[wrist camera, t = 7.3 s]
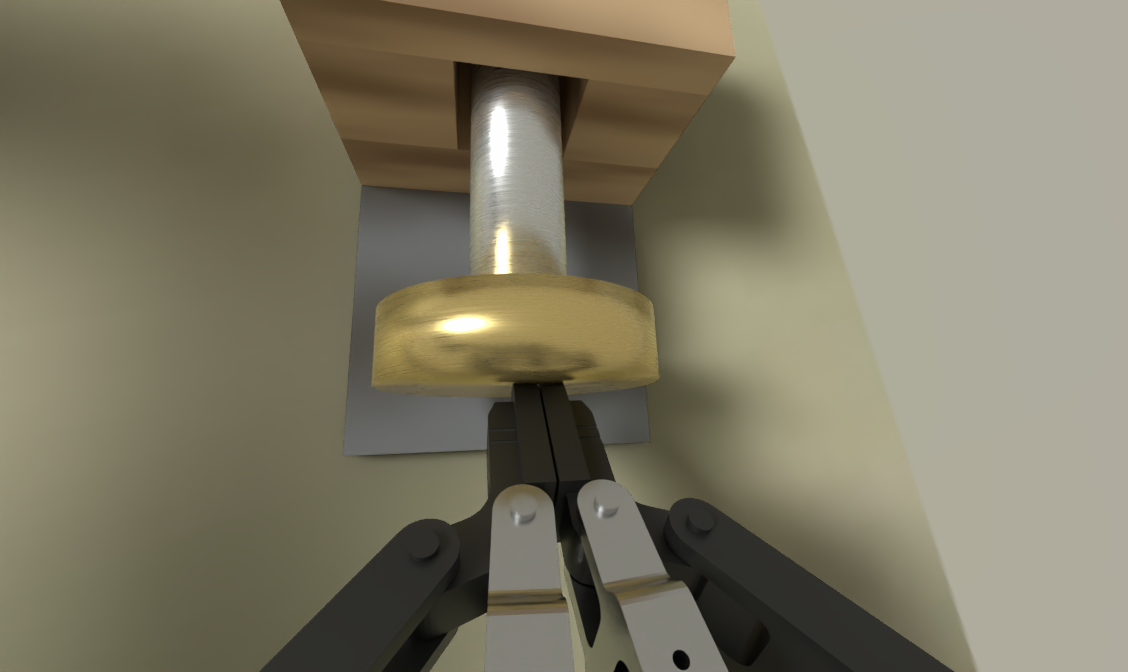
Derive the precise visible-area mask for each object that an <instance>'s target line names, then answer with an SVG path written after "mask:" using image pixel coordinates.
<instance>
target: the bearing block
mask: <svg viewBox="0 0 1128 672" xmlns="http://www.w3.org/2000/svg"><path fill="white" fill-rule="evenodd" d="M280 2H281V4H282V6H283V9H284V11H285V13H286V16H287V18H288V20H289V22H290V25H291V27H292V29H293V31H294V34H295V36H296V38H297V40H298V43H299V45H300V47H301V49H302V52H303V54H304V56H305V58H306V61H307V63H308V65H309V67H310V70H311V72H312V74H313V76H314V79H315V81H316V83H317V85H318V88H319V90H320V92H321V94H322V97H323V99H324V101H325V103H326V106H327V108H328V110H329V112H330V115H331V117H332V119H333V121H334V124H335V126H336V128H337V130H338V133H339V135H340V137H341V139H342V142H343V144H344V146H345V148H346V151H347V153H348V155H349V157H350V160H351V162H352V164H353V166H354V169H355V171H356V173H357V175H358V178H359V180H360V182H361V184H362V190H361V204H360V218H359V232H358V246H357V261H356V275H355V289H354V303H353V317H352V332H351V346H350V360H349V374H348V388H347V403H346V417H345V431H344V445H343V456H356V455H378V454H400V453H422V452H444V451H466V450H487V427H488V414H489V412H490V410H491V408H492V406H493V405H494V403H495V402H511V397H498V398H466V397H433V396H417V395H405V394H396V393H390V392H385V391H380V390H377V389H374V388H373V387H372V368H373V351H374V334H375V317H376V307H377V305H378V304H379V302H380V301H381V300H383V299H384V298H385V297H387V296H388V295H390V294H392V293H394V292H396V291H399V290H401V289H404V288H407V287H410V286H414V285H417V284H421V283H425V282H430V281H435V280H440V279H446V278H453V277H461V276H469V252H470V159H471V66H472V63H473V64H480V65H488V66H495V67H502V68H510V69H517V70H524V71H532V72H539V73H546V74H554V75H559V88H560V113H561V138H562V162H563V187H564V212H565V236H566V261H567V276H576V277H584V278H590V279H596V280H602V281H606V282H610V283H614V284H618V285H622V286H624V287H627V288H630V289H633V290H635V291H637V292H638V279H637V266H636V253H635V240H634V227H633V215H632V204H633V203H634V201H635V200H636V199H637V197H638V196H639V194H640V193H641V191H642V190H643V189H644V187H645V186H646V184H647V183H648V181H649V180H650V179H651V177H652V176H653V174H654V173H655V171H656V170H657V169H658V167H659V166H660V164H661V163H662V161H663V160H664V159H665V157H666V156H667V154H668V153H669V151H670V150H671V149H672V147H673V146H674V144H675V143H676V141H677V140H678V139H679V137H680V136H681V134H682V133H683V131H684V130H685V129H686V127H687V126H688V124H689V123H690V121H691V120H692V119H693V117H694V116H695V114H696V113H697V111H698V110H699V109H700V107H701V106H702V104H703V103H704V101H705V100H706V99H707V97H708V96H709V94H710V93H711V91H712V90H713V88H714V87H715V86H716V84H717V83H718V81H719V80H720V78H721V77H722V76H723V74H724V73H725V71H726V70H727V68H728V67H729V66H730V64H731V63H732V61H733V60H734V58H735V57H736V55H735V49H734V42H733V35H732V28H731V21H730V14H729V7H728V0H280ZM568 399H569V400H582V401H583V402H584V404H585V405H586V406H587V407H588V408H589V409H590V410H591V411H592V413H593V416H594V419H595V422H596V425H597V428H598V431H599V434H600V439H601V440H602V443H603V444H620V443H642V442H650V435H649V422H648V409H647V396H646V385H643V386H639V387H634V388H628V389H621V390H614V391H605V392H596V393H585V394H572V395H568Z"/></svg>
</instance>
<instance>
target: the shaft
mask: <svg viewBox="0 0 1128 672" xmlns="http://www.w3.org/2000/svg"><path fill="white" fill-rule="evenodd" d="M659 379H660V378H659V366H658V354H657V342H656V330H655V318H654V308H653V304H652V302H651V301H650V300H649V299H648V298H647V297H646V296H644V295H643V294H641V293H639V292H637V291H635V290H633V289H630V288H627V287H624V286H622V285H618V284H614V283H610V282H606V281H602V280H596V279H590V278H584V277H576V276H567V261H566V236H565V212H564V187H563V162H562V138H561V113H560V88H559V75H554V74H546V73H539V72H532V71H524V70H517V69H510V68H502V67H495V66H488V65H480V64H473V63H472V66H471V159H470V252H469V276H461V277H453V278H446V279H440V280H435V281H430V282H425V283H421V284H417V285H414V286H410V287H407V288H404V289H401V290H399V291H396V292H394V293H392V294H390V295H388V296H387V297H385V298H384V299H383V300H381V301H380V302H379V304H378V305H377V307H376V317H375V334H374V351H373V368H372V387H373V388H374V389H377V390H380V391H385V392H390V393H396V394H405V395H417V396H433V397H466V398H498V397H511V392H512V385H513V384H538V385H539V384H564V385H565V388H566V392H567V395H572V394H585V393H596V392H605V391H614V390H621V389H628V388H634V387H639V386H643V385H648V384H651V383H654V382H656V381H658V380H659Z"/></svg>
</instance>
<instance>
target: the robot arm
mask: <svg viewBox="0 0 1128 672" xmlns="http://www.w3.org/2000/svg"><path fill="white" fill-rule="evenodd" d="M487 480H488V500H487V502H486V503H485V505H484V506H483V507H482V508H481V510H480V511H478V512H477V513H476V514H474V515H473V516H471V517H469V518H467V519H465V520H463V521H460V522H457V523H455V524H452V525H449V524H448V523H446V522H444V521H442V520H438V519H423V520H419V521H416V522H414V523H411V524H409V525H408V526H406V527H405V528H403V529H402V530H401V531H400V532H399V533H398V534H397V535H396V536H395V537H394V538H393V539H392V540H391V541H390V542H389V543H388V544H387V545H386V546H385V547H384V548H383V549H382V550H381V551H380V552H379V553H378V554H377V555H376V556H375V557H374V558H373V559H372V560H371V561H370V562H369V563H368V564H367V565H366V566H365V567H364V568H363V569H362V570H361V571H360V572H359V573H358V574H357V575H356V576H355V577H354V578H353V579H352V580H351V581H350V582H349V583H348V584H347V585H346V586H345V587H344V588H343V589H342V590H341V591H340V592H339V593H338V594H337V595H336V596H335V597H334V598H333V599H332V600H331V601H330V602H329V603H328V604H327V605H326V606H325V607H324V608H323V609H322V610H321V611H320V612H319V613H318V614H317V615H316V616H315V617H314V618H313V619H312V620H311V621H310V622H309V623H308V624H307V625H306V626H305V627H304V628H303V629H302V630H301V631H300V632H299V633H298V634H297V635H296V636H295V637H294V638H293V639H292V640H291V641H290V642H289V643H288V644H287V645H286V646H285V647H284V648H283V649H282V650H281V651H280V652H279V653H278V654H277V655H276V656H275V657H274V658H273V659H272V660H271V661H270V662H269V663H268V664H267V665H266V666H265V667H264V668H263V669H262V670H261V671H260V672H429V671H430V670H431V668H432V667H433V666H434V664H435V663H436V661H437V660H438V658H439V657H440V656H441V654H442V653H443V651H444V650H445V648H446V647H447V646H448V644H449V643H450V641H451V640H452V638H453V637H454V635H455V634H456V632H457V630H458V627H459V626H461V625H463V624H465V623H467V622H469V621H471V620H473V619H475V618H476V617H478V616H480V615H482V614H484V613H486V612H487V628H486V648H485V668H484V672H575V671H574V661H573V651H572V641H571V631H570V621H569V612H568V606H567V601H566V598H565V597H563V595H562V591H561V581H560V570H559V559H558V548H557V542H561V546H562V552H563V557H564V562H565V563H564V575H565V579H566V583H567V587H568V591H569V595H570V599H571V603H572V607H573V611H574V615H575V619H576V623H577V627H578V631H579V635H580V639H581V643H582V647H583V652H584V658H585V672H954V671H952V670H951V669H950V668H948V667H947V666H945V665H944V664H942V663H941V662H939V661H938V660H936V659H935V658H933V657H932V656H931V655H929V654H928V653H926V652H925V651H923V650H922V649H920V648H919V647H917V646H916V645H915V644H913V643H912V642H910V641H909V640H907V639H906V638H904V637H903V636H901V635H900V634H898V633H897V632H896V631H894V630H893V629H891V628H890V627H888V626H887V625H885V624H884V623H882V622H881V621H880V620H878V619H877V618H875V617H874V616H872V615H871V614H869V613H868V612H866V611H865V610H863V609H862V608H861V607H859V606H858V605H856V604H855V603H853V602H852V601H850V600H849V599H847V598H846V597H844V596H843V595H842V594H840V593H839V592H837V591H836V590H834V589H833V588H831V587H830V586H828V585H827V584H826V583H824V582H823V581H821V580H820V579H818V578H817V577H815V576H814V575H812V574H811V573H809V572H808V571H807V570H805V569H804V568H802V567H801V566H799V565H798V564H796V563H795V562H793V561H792V560H791V559H789V558H788V557H786V556H785V555H783V554H782V553H780V552H779V551H777V550H776V549H774V548H773V547H772V546H770V545H769V544H767V543H766V542H764V541H763V540H761V539H760V538H758V537H757V536H756V535H754V534H753V533H751V532H750V531H748V530H747V529H745V528H744V527H742V526H741V525H739V524H738V523H737V522H735V521H734V520H732V519H731V518H729V517H728V516H726V515H725V514H723V513H722V512H721V511H719V510H718V509H716V508H715V507H713V506H712V505H710V504H708V503H706V502H704V501H702V500H699V499H694V498H685V499H681V500H679V501H677V502H675V503H674V504H673V506H672V507H671V509H670V511H668V510H663V509H659V508H654V507H650V506H646V505H642V504H640V503H637V502H635V501H634V499H633V497H632V495H631V494H630V493H629V491H628V490H627V489H626V488H624V487H623V486H622V485H620V484H618V483H616V481H615V479H614V476H613V473H612V470H611V467H610V464H609V461H608V458H607V455H606V452H605V449H604V446H603V443H602V440H601V439H600V434H599V431H598V428H597V425H596V422H595V419H594V416H593V413H592V411H591V410H590V409H589V408H588V407H587V406H586V405H585V404H584V402H583V401H582V400H569V399H568V395H567V392H566V388H565V385H564V384H539V385H538V384H513V385H512V392H511V402H495V403H494V405H493V406H492V408H491V410H490V412H489V414H488V427H487Z"/></svg>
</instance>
